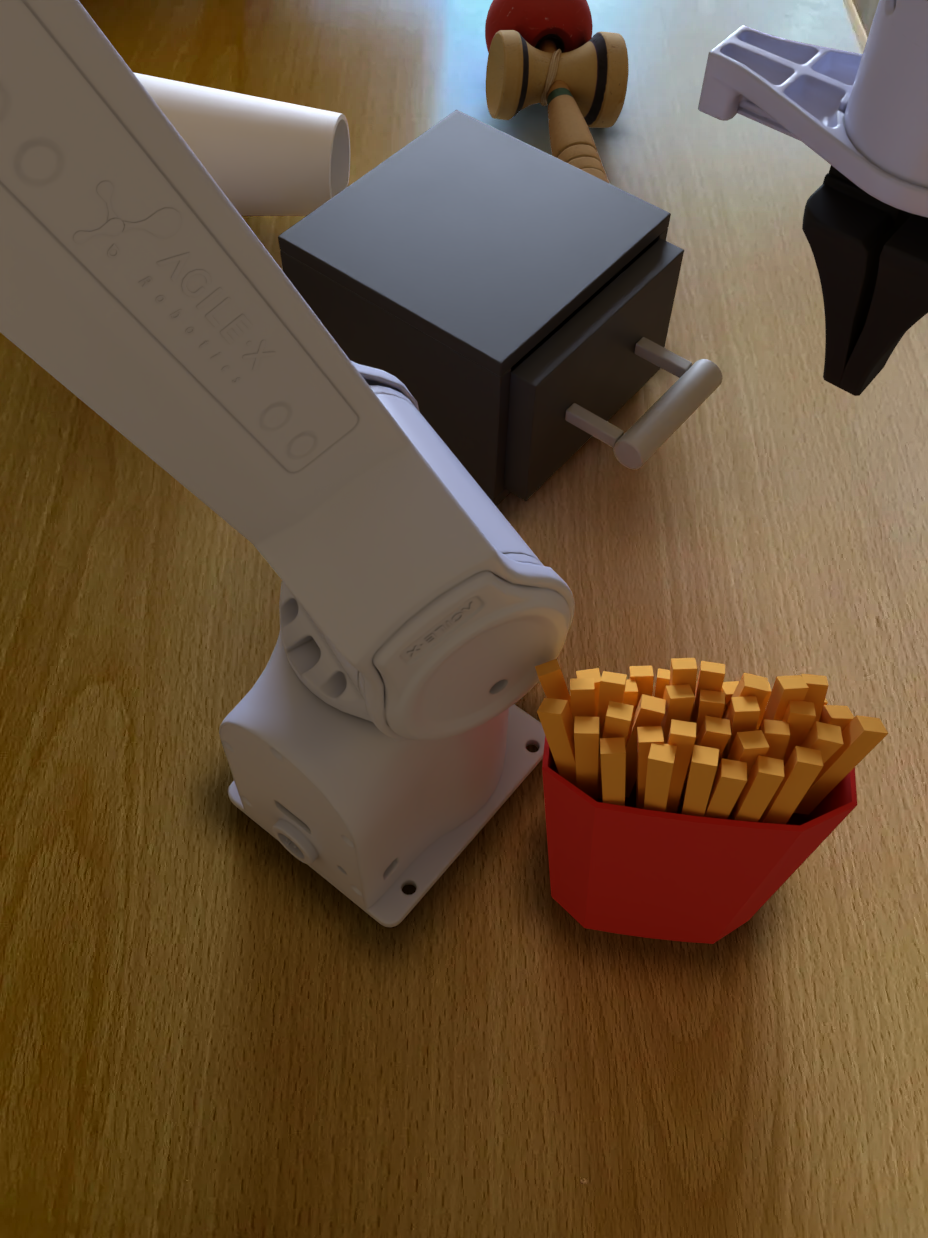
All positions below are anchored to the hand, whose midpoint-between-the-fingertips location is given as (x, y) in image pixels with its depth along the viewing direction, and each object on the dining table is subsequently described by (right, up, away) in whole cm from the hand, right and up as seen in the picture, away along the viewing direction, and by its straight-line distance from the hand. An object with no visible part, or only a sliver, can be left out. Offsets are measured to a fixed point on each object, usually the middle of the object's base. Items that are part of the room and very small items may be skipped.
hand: (853, 372), depth 40 cm
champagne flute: (-43, +17, +19) cm, 50 cm away
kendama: (-8, +18, +25) cm, 31 cm away
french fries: (-7, -18, +1) cm, 19 cm away
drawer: (-10, +1, +12) cm, 16 cm away
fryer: (-13, +3, +14) cm, 20 cm away
